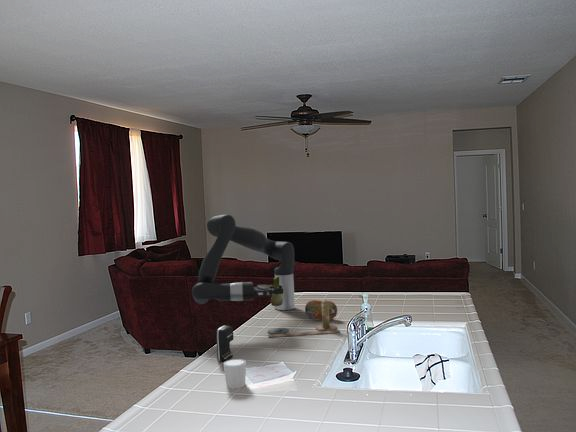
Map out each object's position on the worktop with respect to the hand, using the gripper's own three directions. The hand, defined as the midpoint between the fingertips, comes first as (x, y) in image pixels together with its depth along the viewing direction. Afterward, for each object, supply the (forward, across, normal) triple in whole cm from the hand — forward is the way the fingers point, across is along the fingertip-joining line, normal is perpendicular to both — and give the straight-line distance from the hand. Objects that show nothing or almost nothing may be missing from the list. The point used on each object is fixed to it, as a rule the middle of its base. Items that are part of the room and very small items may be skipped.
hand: (282, 289), depth 213 cm
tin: (+18, +17, +18) cm, 31 cm away
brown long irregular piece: (+8, -2, +17) cm, 19 cm away
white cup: (-19, -56, +18) cm, 62 cm away
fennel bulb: (-2, 0, +7) cm, 7 cm away
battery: (-23, -31, +18) cm, 42 cm away
